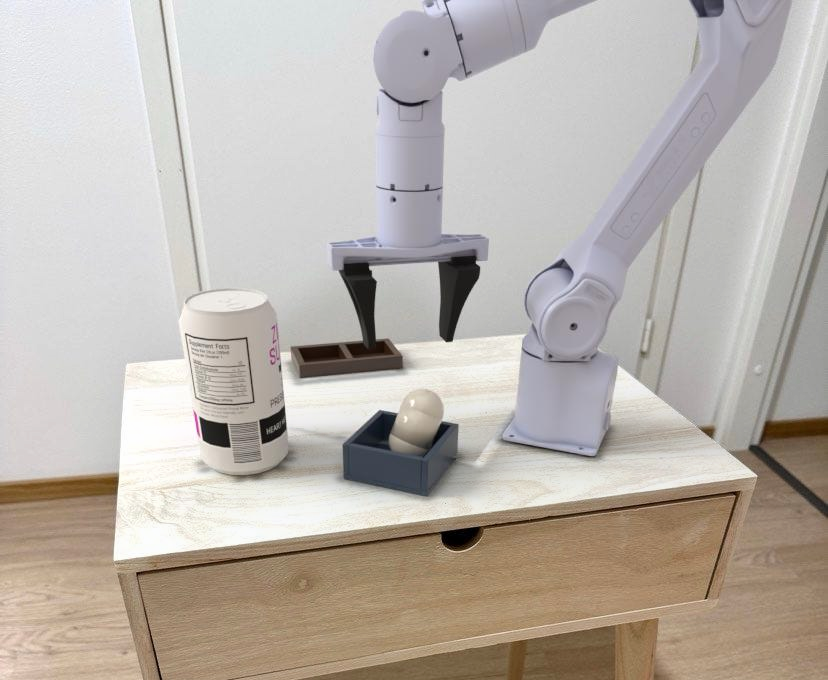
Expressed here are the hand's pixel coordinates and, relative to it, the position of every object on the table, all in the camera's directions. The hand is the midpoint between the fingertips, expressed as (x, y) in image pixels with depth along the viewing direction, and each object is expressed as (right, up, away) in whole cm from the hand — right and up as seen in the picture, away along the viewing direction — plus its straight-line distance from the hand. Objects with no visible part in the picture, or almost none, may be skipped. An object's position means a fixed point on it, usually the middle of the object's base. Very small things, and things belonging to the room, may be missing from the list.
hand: (408, 342), depth 72 cm
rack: (-8, +2, +20) cm, 21 cm away
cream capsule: (-1, -11, -1) cm, 12 cm away
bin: (-1, -12, -1) cm, 12 cm away
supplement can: (-15, -11, 0) cm, 19 cm away
